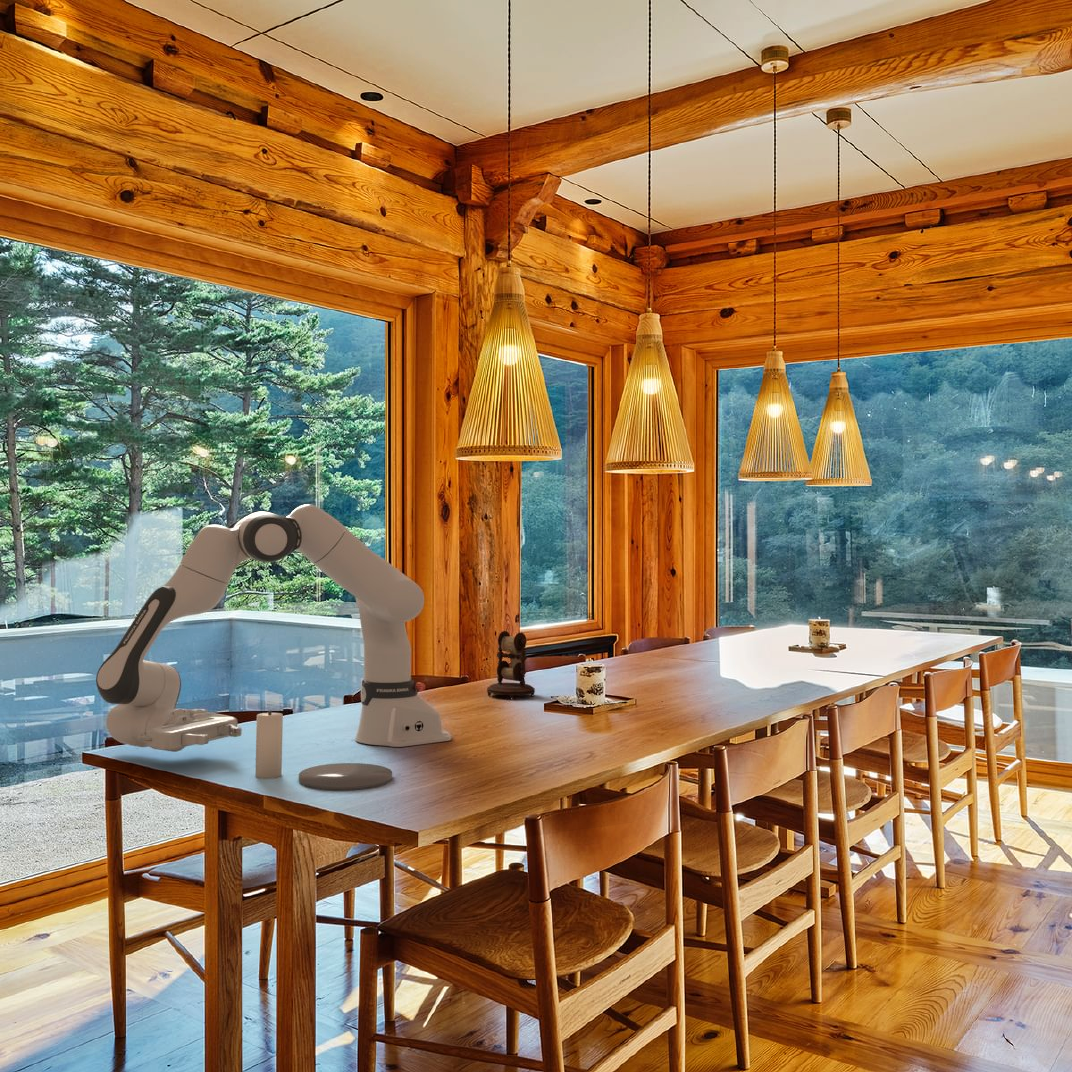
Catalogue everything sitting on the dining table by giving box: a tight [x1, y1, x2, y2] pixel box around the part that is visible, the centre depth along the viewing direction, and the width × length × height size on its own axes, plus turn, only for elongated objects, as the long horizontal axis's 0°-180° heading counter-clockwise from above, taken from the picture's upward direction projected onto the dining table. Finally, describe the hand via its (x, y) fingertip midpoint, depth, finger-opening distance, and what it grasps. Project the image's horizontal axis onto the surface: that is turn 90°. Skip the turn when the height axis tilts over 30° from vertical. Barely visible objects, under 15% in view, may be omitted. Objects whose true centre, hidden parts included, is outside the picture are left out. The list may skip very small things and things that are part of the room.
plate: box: [298, 762, 393, 792], centre depth 194 cm, size 18×18×1 cm
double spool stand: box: [486, 630, 536, 699], centre depth 306 cm, size 15×15×20 cm
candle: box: [254, 710, 284, 779], centre depth 196 cm, size 5×5×13 cm
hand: (223, 736), depth 202 cm, fingers open, 8 cm apart
